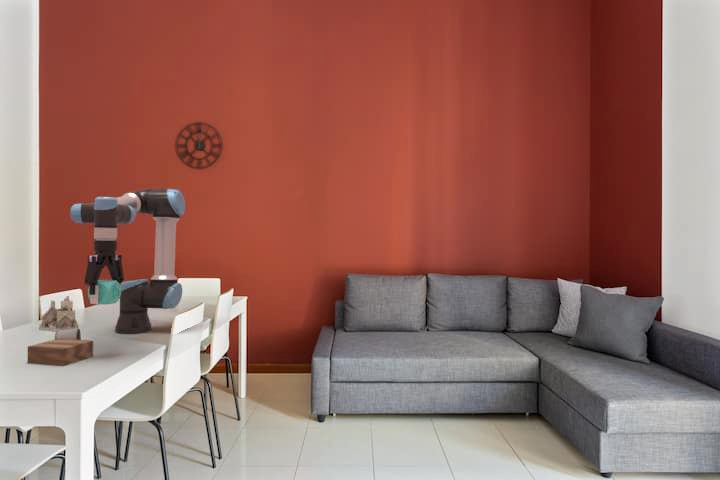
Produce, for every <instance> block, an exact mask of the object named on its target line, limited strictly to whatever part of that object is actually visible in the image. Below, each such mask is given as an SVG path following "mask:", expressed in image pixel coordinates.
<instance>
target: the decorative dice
mask: <svg viewBox="0 0 720 480" xmlns="http://www.w3.org/2000/svg"><path fill="white" fill-rule="evenodd" d="M93 282H94V281H93ZM96 285H97V286H98V304H97V305H99V306H100V305H101V306H102V305H114V304H117V303H118V301H120V296H121V286H120V285H121V283H118V282H117V281H116V280H112V279H98V282H97V284H96ZM89 291H90V290H89V287H88V289H87V297H88V300H89V301H90V294H89Z"/></svg>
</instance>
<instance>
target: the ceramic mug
mask: <svg viewBox="0 0 720 480" xmlns="http://www.w3.org/2000/svg"><path fill="white" fill-rule="evenodd" d="M54 334H55V335H54V340H55V339H59V338H61V339H75V340H82V335H81V334H82V333H81V330H80V328H76V329H67V330H60V331H57V332H55V333H54Z"/></svg>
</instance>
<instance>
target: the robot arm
mask: <svg viewBox="0 0 720 480" xmlns="http://www.w3.org/2000/svg"><path fill="white" fill-rule="evenodd" d="M69 211H70V212H69V213H70V218H71V221H73V222H74V223H75V224H82V225H83V224H93V225H94V226H93V227H94V228H93V238H94V239H95V240H94V241H93V250H94V252H95V254H94V255H88V256H87V266H86V271H85V276H84V282H83V283H84V284H85V285H87V286H88V288H89V290H90V291H89V294H90V300H89V301H90V302H89V304H90V305H91V304H92V305H99V304H98V286H97V285H96V284H97V282H98V280H100V279H99V278H100V276H101V273H102V271H103V269H104V268H105V267H106V268H107V270H108V272H109V276H110V279H111V280H116V281H117V282H118V283H119V284H120V286H121V296H120V299H119V316H118V318H117V321H116V325H115V326H114V332H115V333H117V334H122V335H123V334H128V335H129V334H130V335H132V334H142V333H147V332H151V331H152V323H151V320H150V317H149V314H148V311H149V309H163V310H166V309H167V310H168V309H170V310H171V309H174V308H177V306H178V305H179V304H180V302H181V300H182V296H183V286H182V284H181V283H180V282H178V281H179V280H178V277H176V274H175V268H176V238H177V222H179V221H180V219H181V216H183V215H184V214H185V212H186V200H185V197H184V195H183V193H182V192H181V191H180V190H178V189H172V188H145V189H139V190H134V191H130V192H126V193H124V194H123V195H122V196H118V197H113V196H97V197H95V198H94V202H88V203H83V202H82V203H74V204H73V205H72V206H71V207H70V210H69ZM137 214H138V215H139V214H140V215H152V219H153V221H155V245H154V267H153V268H154V270H153V271H154V273H153V275H152V277H150V280H149V279H147V278H143V279H135V280H126V281H124V280H125V277H124V269H123V263H122V260H123V256H122V254H116V251H117V250H118V241H117V239H118V225H129V224H132V223H133V222H134V221H135V219H136V216H137ZM93 281H94V282H93Z"/></svg>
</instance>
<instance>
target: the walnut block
mask: <svg viewBox="0 0 720 480" xmlns="http://www.w3.org/2000/svg"><path fill="white" fill-rule="evenodd" d="M92 356H93V357H94V340H90V339H89V340H87V339H81V340H75V339H61V338H59V339H55V338H54V339H52V340H47V341H45V342H40V343H36V344H32V345H28V346H27V364H32V365H33V364H35V365H46V366H58V367H65V366H67V365H71V364H73V363H76V362H80V361H83V360H86V359H89V357H90V358H92Z"/></svg>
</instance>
